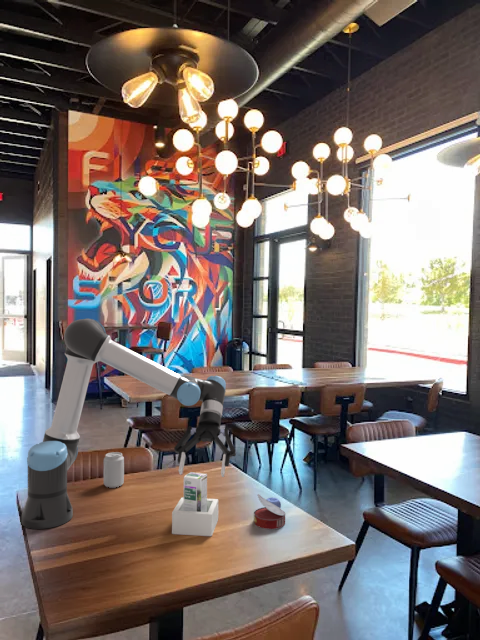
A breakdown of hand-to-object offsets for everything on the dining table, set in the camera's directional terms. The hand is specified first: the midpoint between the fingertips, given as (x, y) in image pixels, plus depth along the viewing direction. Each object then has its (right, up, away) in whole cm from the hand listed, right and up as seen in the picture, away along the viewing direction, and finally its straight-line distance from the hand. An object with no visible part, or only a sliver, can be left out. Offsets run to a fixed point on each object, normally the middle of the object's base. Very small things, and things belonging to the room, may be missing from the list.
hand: (201, 473), depth 155 cm
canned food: (+22, -16, 0) cm, 27 cm away
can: (-36, -15, +32) cm, 50 cm away
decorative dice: (+23, -15, +9) cm, 29 cm away
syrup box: (-2, -14, -3) cm, 14 cm away
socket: (-1, -15, -3) cm, 16 cm away
